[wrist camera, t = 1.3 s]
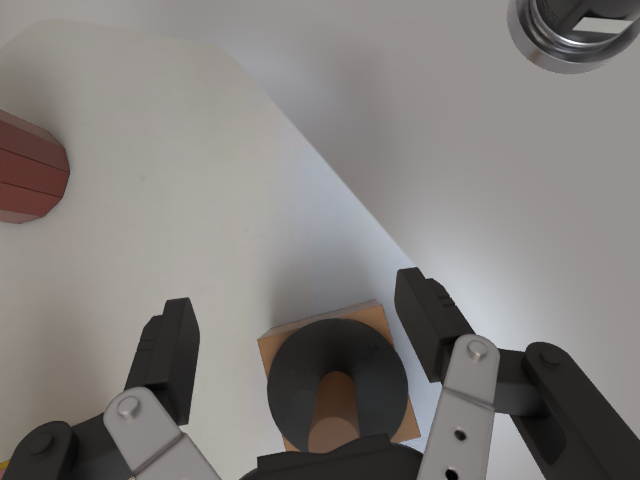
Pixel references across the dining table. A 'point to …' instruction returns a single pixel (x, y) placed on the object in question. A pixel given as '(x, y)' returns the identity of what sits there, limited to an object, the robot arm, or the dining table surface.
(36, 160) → the pot
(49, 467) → the robot arm
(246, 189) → the dining table surface
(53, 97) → the dining table surface
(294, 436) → the lid
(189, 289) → the dining table surface
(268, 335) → the brown wooden block
